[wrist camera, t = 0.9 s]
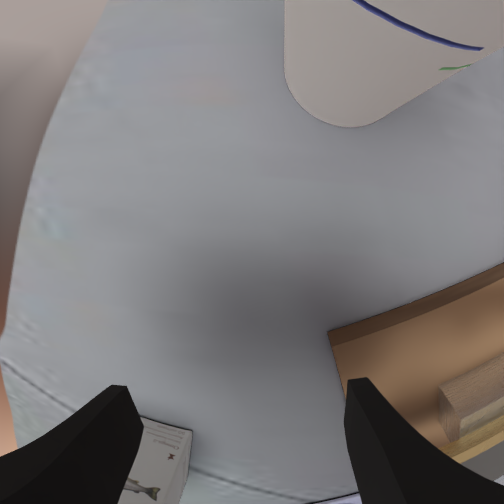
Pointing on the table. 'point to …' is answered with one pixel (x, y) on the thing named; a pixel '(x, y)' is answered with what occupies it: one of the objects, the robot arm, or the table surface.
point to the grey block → (472, 399)
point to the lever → (476, 441)
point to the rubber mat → (488, 462)
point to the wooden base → (425, 347)
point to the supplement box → (158, 466)
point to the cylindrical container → (381, 51)
